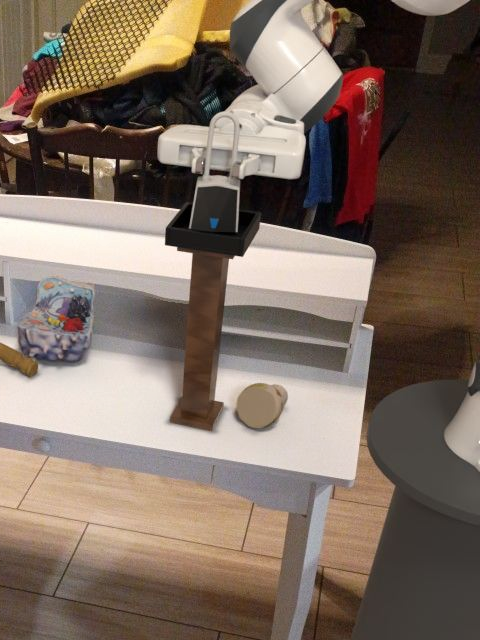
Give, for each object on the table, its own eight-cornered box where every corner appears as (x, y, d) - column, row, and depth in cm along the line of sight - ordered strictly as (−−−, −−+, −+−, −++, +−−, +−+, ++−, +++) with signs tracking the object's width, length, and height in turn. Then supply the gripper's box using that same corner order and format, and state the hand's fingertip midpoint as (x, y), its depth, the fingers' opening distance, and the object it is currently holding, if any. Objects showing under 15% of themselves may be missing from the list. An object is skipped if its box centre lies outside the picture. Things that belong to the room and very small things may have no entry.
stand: (226, 407, 141) (247, 230, 121) (214, 433, 135) (233, 252, 115) (180, 397, 143) (193, 222, 123) (166, 423, 137) (177, 244, 118)
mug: (298, 407, 141) (305, 378, 132) (262, 449, 139) (267, 423, 130) (261, 382, 143) (265, 352, 134) (225, 424, 141) (227, 397, 132)
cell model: (101, 272, 157) (92, 315, 141) (96, 326, 163) (88, 374, 147) (30, 265, 157) (14, 308, 141) (29, 320, 163) (13, 367, 147)
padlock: (188, 229, 117) (198, 114, 108) (190, 217, 121) (201, 105, 111) (237, 233, 117) (252, 118, 107) (238, 221, 120) (252, 108, 110)
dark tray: (259, 229, 121) (261, 212, 120) (242, 257, 114) (245, 239, 113) (185, 218, 124) (186, 201, 123) (164, 245, 117) (165, 227, 116)
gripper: (173, 107, 123) (143, 136, 113) (315, 122, 117) (296, 154, 108) (171, 153, 127) (142, 184, 117) (308, 169, 122) (289, 203, 112)
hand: (217, 170), depth 112 cm, fingers closed on padlock, 4 cm apart
